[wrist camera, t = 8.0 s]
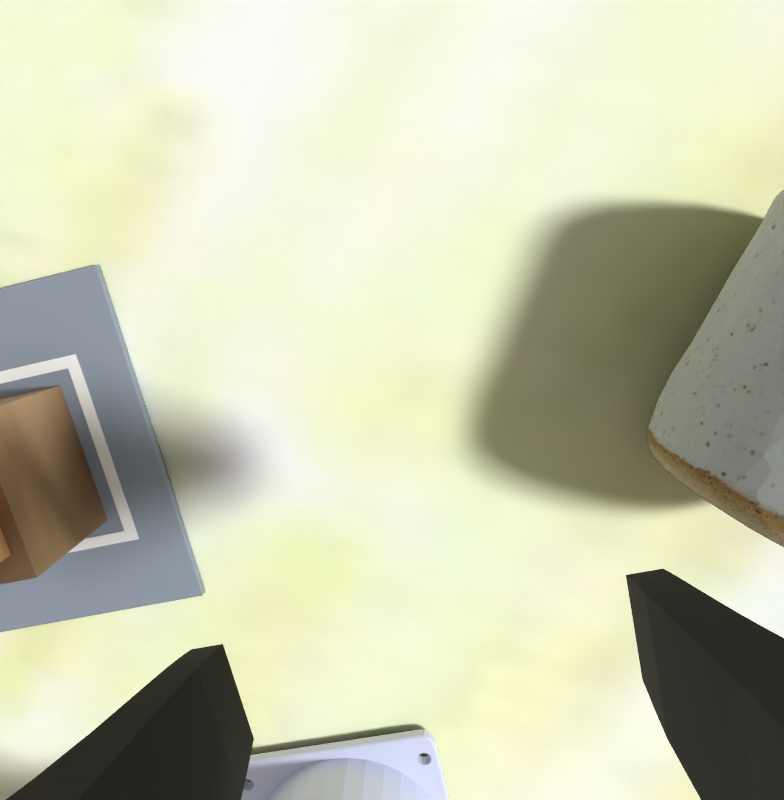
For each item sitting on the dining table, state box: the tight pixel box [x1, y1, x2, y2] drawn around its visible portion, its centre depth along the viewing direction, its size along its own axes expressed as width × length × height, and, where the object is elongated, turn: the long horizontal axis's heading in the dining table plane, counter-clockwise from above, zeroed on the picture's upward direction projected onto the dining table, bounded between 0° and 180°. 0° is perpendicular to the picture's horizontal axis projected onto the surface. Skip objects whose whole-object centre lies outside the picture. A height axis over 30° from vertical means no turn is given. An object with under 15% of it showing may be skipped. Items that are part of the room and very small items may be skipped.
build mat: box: [0, 265, 205, 632], centre depth 21 cm, size 12×10×1 cm
